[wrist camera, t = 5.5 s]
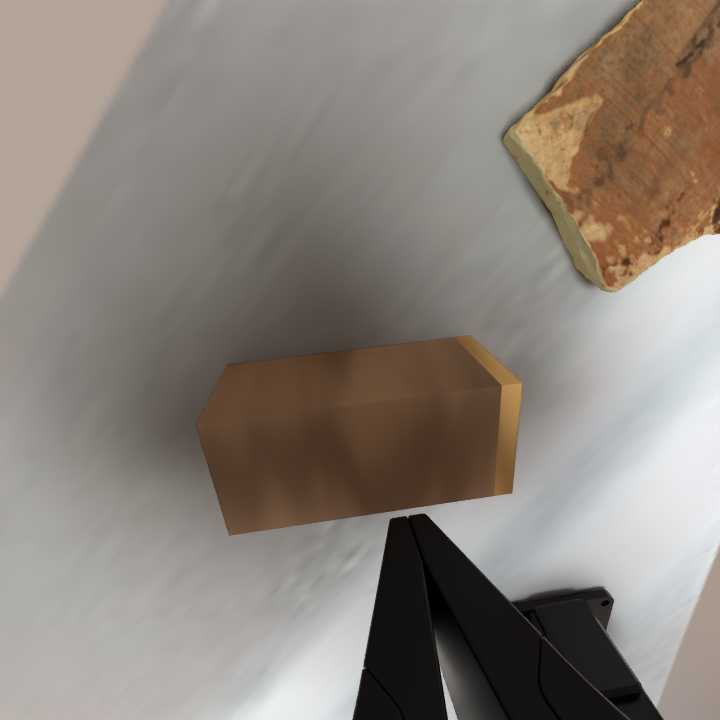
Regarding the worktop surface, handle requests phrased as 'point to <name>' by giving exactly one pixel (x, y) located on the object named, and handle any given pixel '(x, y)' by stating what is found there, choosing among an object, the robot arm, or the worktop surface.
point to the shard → (631, 141)
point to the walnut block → (360, 432)
